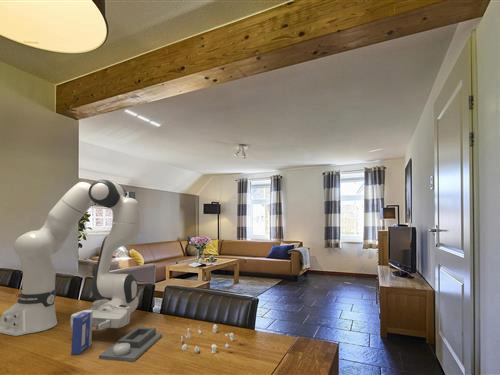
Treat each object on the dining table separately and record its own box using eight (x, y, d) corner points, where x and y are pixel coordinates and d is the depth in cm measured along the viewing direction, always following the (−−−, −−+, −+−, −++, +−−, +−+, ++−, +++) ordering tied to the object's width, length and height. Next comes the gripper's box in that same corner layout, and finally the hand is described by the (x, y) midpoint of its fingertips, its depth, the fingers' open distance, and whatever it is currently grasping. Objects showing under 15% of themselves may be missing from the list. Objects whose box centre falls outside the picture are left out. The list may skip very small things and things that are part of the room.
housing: (98, 358, 96) (99, 348, 97) (132, 334, 116) (132, 325, 116) (133, 361, 95) (134, 351, 95) (162, 336, 114) (162, 327, 114)
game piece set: (202, 328, 123) (202, 319, 123) (244, 339, 113) (244, 328, 113) (166, 346, 106) (166, 335, 106) (212, 360, 96) (212, 348, 96)
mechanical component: (84, 313, 141) (103, 314, 139) (85, 303, 141) (104, 304, 139) (99, 306, 150) (117, 308, 148) (99, 297, 151) (117, 298, 149)
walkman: (79, 354, 99) (81, 316, 100) (71, 354, 99) (73, 316, 100) (91, 344, 107) (93, 309, 108) (84, 344, 107) (85, 309, 108)
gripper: (85, 303, 120) (58, 315, 107) (133, 306, 117) (112, 318, 103) (85, 320, 120) (57, 334, 106) (133, 323, 116) (111, 338, 103)
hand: (85, 326), depth 105 cm, fingers open, 8 cm apart
